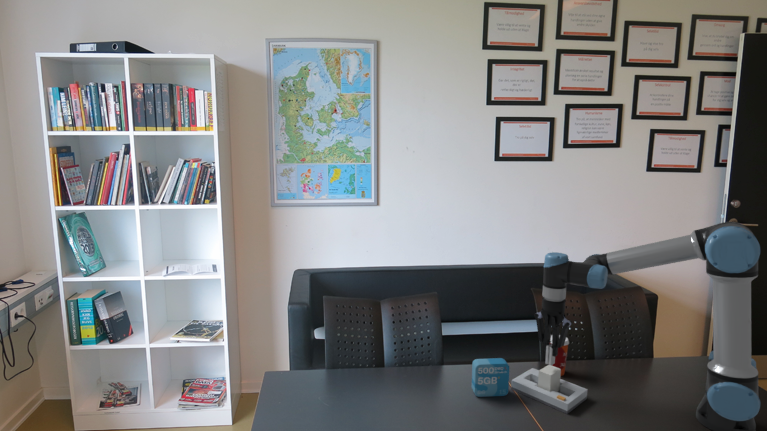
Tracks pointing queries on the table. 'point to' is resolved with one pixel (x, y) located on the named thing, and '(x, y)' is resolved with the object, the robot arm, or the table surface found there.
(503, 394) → the data package
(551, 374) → the plug
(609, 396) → the table surface
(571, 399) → the socket
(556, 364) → the paper cup
